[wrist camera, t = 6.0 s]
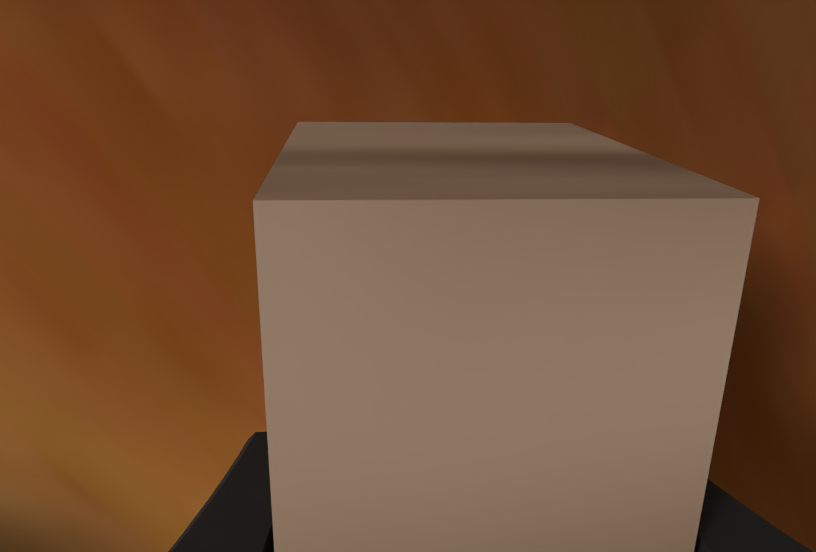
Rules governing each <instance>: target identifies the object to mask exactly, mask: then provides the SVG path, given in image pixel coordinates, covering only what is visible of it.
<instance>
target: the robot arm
mask: <svg viewBox="0 0 816 552" xmlns="http://www.w3.org/2000/svg"><path fill="white" fill-rule="evenodd" d="M168 552H274V539H273V523H272V506H271V490H270V473H269V457H268V441H267V432H256V433H254V434H253V435H252V436H251V437H250V438H249V439H248V440H247V442H246V444H245V445H244V447H243V449H242V450H241V452H240V454H239V455H238V457H237V458H236V460H235V461H234V463H233V465H232V466H231V468H230V469H229V471H228V472H227V474H226V475H225V477H224V478H223V479H222V481H221V482H220V484H219V485H218V487H217V488H216V489H215V491H214V492H213V494H212V495H211V497H210V498H209V499H208V501H207V502H206V503H205V505H204V506H203V507H202V509H201V510H200V511H199V513H198V514H197V515H196V517H195V518H194V519H193V521H192V522H191V523H190V525H189V526H188V527H187V529H186V530H185V531H184V533H183V534H182V535H181V536H180V538H179V539H178V540H177V542H176V543H175V544H174V545H173V547H172V548H171V549H170V550H169V551H168ZM694 552H812V551H811V550H809V549H808V548H806V547H805V546H803V545H801V544H800V543H798V542H797V541H795V540H794V539H792V538H791V537H789V536H788V535H786V534H785V533H783V532H782V531H780V530H779V529H777V528H776V527H774V526H773V525H771V524H770V523H768V522H767V521H766V520H764V519H763V518H761V517H760V516H758V515H757V514H755V513H754V512H753V511H751V510H750V509H748V508H747V507H745V506H744V505H743V504H741V503H740V502H738V501H737V500H736V499H734V498H733V497H731V496H730V495H729V494H727V493H726V492H725V491H723V490H722V489H720V488H719V487H718V486H716V485H715V484H714V483H712V482H711V481H709V480H708V479H707V484H706V489H705V495H704V500H703V506H702V511H701V516H700V522H699V527H698V533H697V538H696V543H695V549H694Z"/></svg>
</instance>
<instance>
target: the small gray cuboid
mask: <svg viewBox="0 0 816 552" xmlns="http://www.w3.org/2000/svg"><path fill="white" fill-rule="evenodd" d="M758 204H759V198H757V197H755V196H752V195H750V194H747V193H745V192H742V191H740V190H737V189H735V188H732V187H730V186H727V185H725V184H722V183H720V182H717V181H715V180H712V179H710V178H707V177H705V176H702V175H700V174H697V173H695V172H692V171H690V170H687V169H684V168H682V167H679V166H677V165H674V164H672V163H669V162H667V161H664V160H662V159H659V158H657V157H654V156H652V155H649V154H647V153H644V152H642V151H639V150H637V149H634V148H632V147H629V146H627V145H624V144H622V143H619V142H617V141H614V140H612V139H609V138H606V137H604V136H601V135H599V134H596V133H594V132H591V131H589V130H586V129H584V128H581V127H579V126H576V125H574V124H571V123H440V122H298V123H297V125H296V126H295V128H294V130H293V131H292V133H291V135H290V137H289V138H288V140H287V142H286V144H285V145H284V147H283V149H282V151H281V152H280V154H279V156H278V158H277V159H276V161H275V163H274V165H273V166H272V168H271V170H270V172H269V173H268V175H267V177H266V179H265V180H264V182H263V184H262V186H261V187H260V189H259V191H258V193H257V194H256V196H255V198H254V199H253V211H254V227H255V244H256V260H257V276H258V293H259V309H260V326H261V342H262V359H263V375H264V391H265V408H266V424H267V441H268V457H269V473H270V490H271V506H272V523H273V539H274V552H694V549H695V543H696V538H697V533H698V527H699V522H700V516H701V511H702V506H703V500H704V495H705V489H706V484H707V479H708V473H709V468H710V462H711V457H712V452H713V446H714V441H715V436H716V430H717V425H718V419H719V414H720V409H721V403H722V398H723V392H724V387H725V382H726V376H727V371H728V365H729V360H730V355H731V349H732V344H733V338H734V333H735V328H736V322H737V317H738V311H739V306H740V301H741V295H742V290H743V284H744V279H745V274H746V268H747V263H748V257H749V252H750V247H751V241H752V236H753V230H754V225H755V220H756V214H757V209H758Z"/></svg>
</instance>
